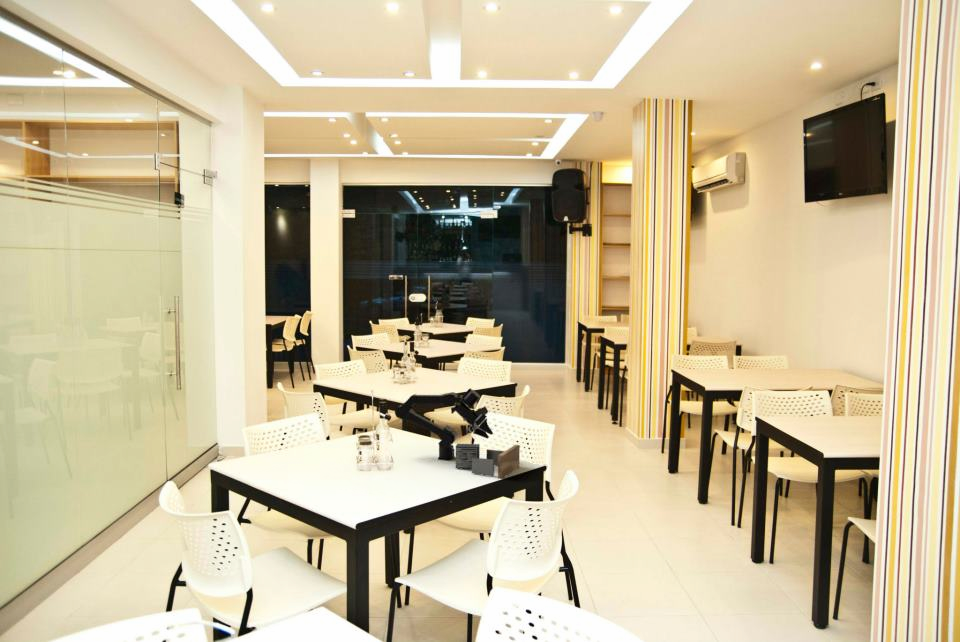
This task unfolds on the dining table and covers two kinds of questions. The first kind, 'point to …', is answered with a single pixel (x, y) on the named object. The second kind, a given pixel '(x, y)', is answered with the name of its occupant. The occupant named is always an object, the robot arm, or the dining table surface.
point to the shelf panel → (508, 461)
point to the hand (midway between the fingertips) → (490, 435)
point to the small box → (466, 455)
